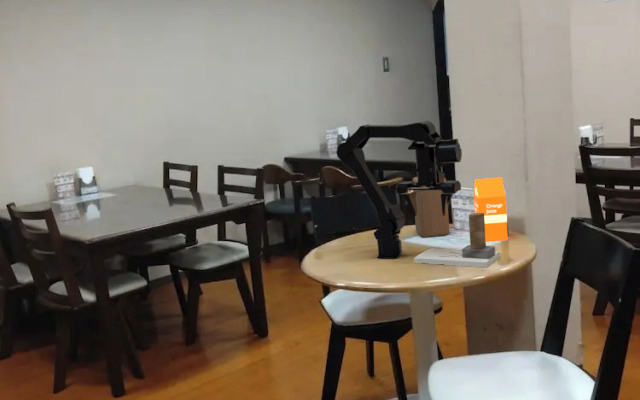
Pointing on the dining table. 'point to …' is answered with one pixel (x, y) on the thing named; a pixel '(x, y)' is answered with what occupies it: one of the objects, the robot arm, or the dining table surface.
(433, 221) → the wooden block
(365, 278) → the dining table surface
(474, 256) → the brown post on stand
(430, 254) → the primed board
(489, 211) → the orange juice
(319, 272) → the dining table surface
